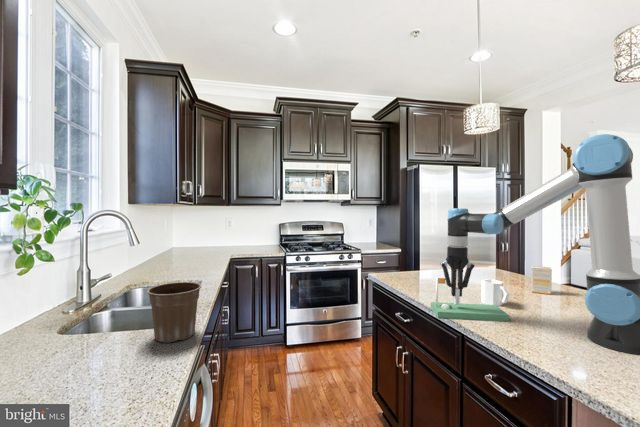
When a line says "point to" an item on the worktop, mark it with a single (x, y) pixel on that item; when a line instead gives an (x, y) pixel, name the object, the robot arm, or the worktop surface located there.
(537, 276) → the supplement box
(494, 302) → the mug
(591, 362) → the worktop surface
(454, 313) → the putting strip
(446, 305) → the ball
